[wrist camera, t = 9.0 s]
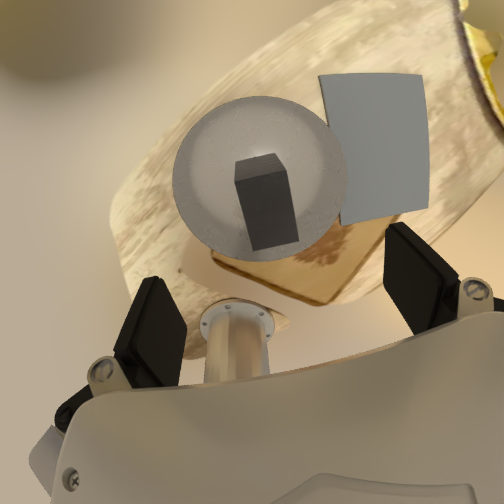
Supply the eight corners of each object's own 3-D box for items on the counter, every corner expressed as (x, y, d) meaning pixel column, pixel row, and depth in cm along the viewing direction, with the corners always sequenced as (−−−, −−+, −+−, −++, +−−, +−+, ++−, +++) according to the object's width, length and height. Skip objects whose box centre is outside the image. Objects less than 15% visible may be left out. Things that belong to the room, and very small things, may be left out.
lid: (346, 234, 23) (375, 277, 18) (205, 265, 24) (196, 316, 19) (326, 84, 16) (363, 79, 11) (155, 124, 18) (121, 135, 12)
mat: (425, 206, 35) (428, 208, 34) (339, 224, 36) (341, 226, 35) (419, 75, 24) (421, 75, 24) (318, 75, 26) (319, 75, 25)
